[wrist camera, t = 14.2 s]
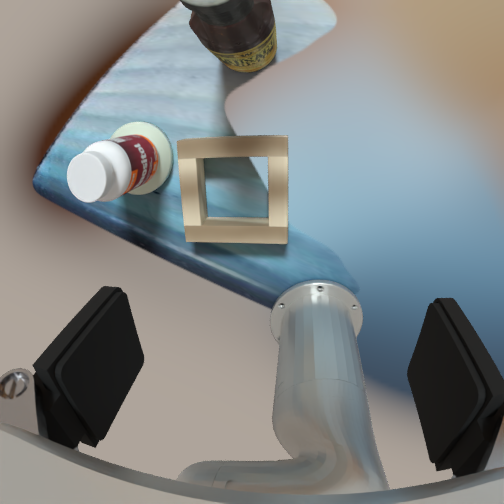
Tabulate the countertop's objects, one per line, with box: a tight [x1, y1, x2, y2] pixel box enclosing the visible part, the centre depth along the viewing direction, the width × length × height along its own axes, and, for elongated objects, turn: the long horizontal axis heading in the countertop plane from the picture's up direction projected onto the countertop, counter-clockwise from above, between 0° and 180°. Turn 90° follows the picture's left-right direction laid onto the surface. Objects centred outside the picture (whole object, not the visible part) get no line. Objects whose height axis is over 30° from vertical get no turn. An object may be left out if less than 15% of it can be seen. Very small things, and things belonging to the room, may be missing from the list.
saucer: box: [110, 122, 173, 195], centre depth 36 cm, size 9×9×1 cm
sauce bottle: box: [180, 0, 277, 73], centre depth 20 cm, size 6×6×20 cm
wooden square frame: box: [177, 135, 288, 244], centre depth 35 cm, size 12×12×3 cm
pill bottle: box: [67, 134, 159, 202], centre depth 30 cm, size 6×6×11 cm
